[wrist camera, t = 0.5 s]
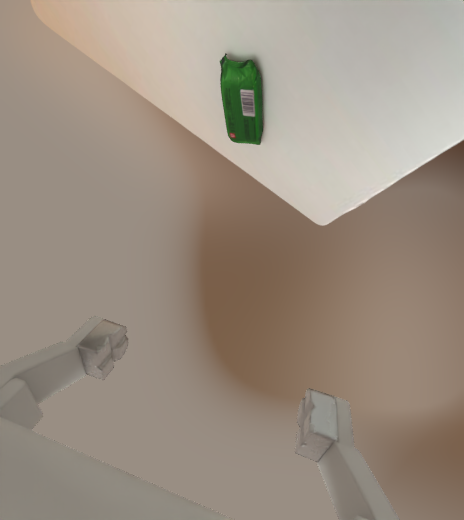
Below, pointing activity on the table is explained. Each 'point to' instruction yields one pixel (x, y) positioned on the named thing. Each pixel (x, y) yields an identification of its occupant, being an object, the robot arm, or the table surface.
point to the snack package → (242, 100)
